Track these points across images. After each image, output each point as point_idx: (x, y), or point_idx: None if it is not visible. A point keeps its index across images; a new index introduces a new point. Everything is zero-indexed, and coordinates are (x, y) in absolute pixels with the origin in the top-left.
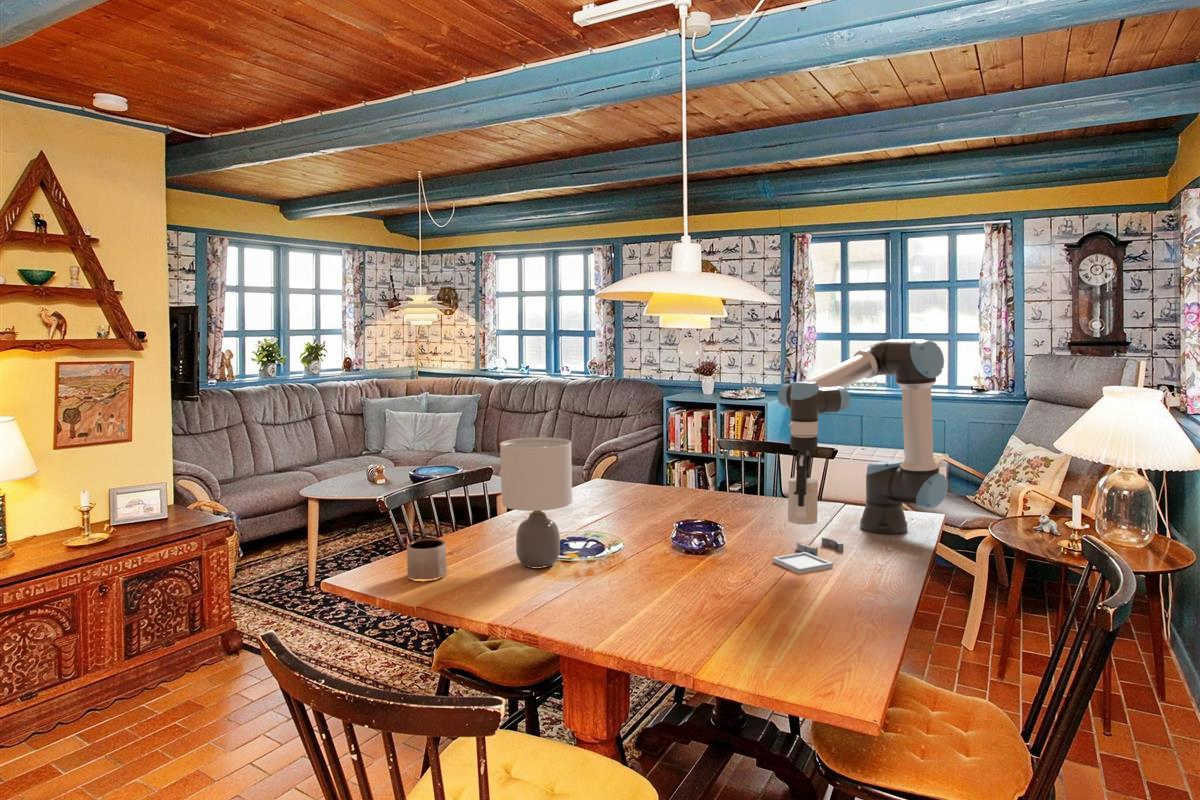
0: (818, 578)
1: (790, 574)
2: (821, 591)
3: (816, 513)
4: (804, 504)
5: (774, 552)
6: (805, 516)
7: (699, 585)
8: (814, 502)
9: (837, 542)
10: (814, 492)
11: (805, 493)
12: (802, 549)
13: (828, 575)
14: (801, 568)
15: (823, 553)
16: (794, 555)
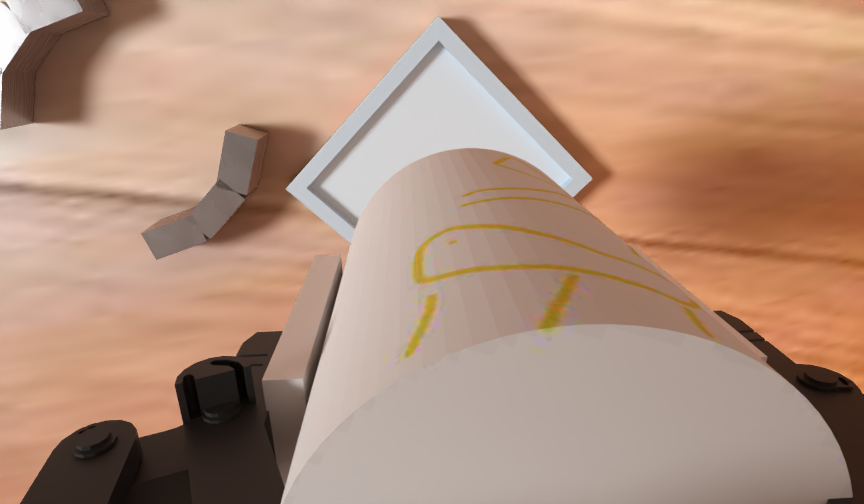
0: (629, 75)
1: (599, 210)
2: (815, 39)
3: (513, 167)
4: None
5: None
6: (637, 250)
7: None
8: (593, 219)
9: (51, 18)
10: (653, 271)
11: (846, 379)
12: (236, 210)
13: (570, 29)
14: (579, 169)
15: (186, 96)
16: None
